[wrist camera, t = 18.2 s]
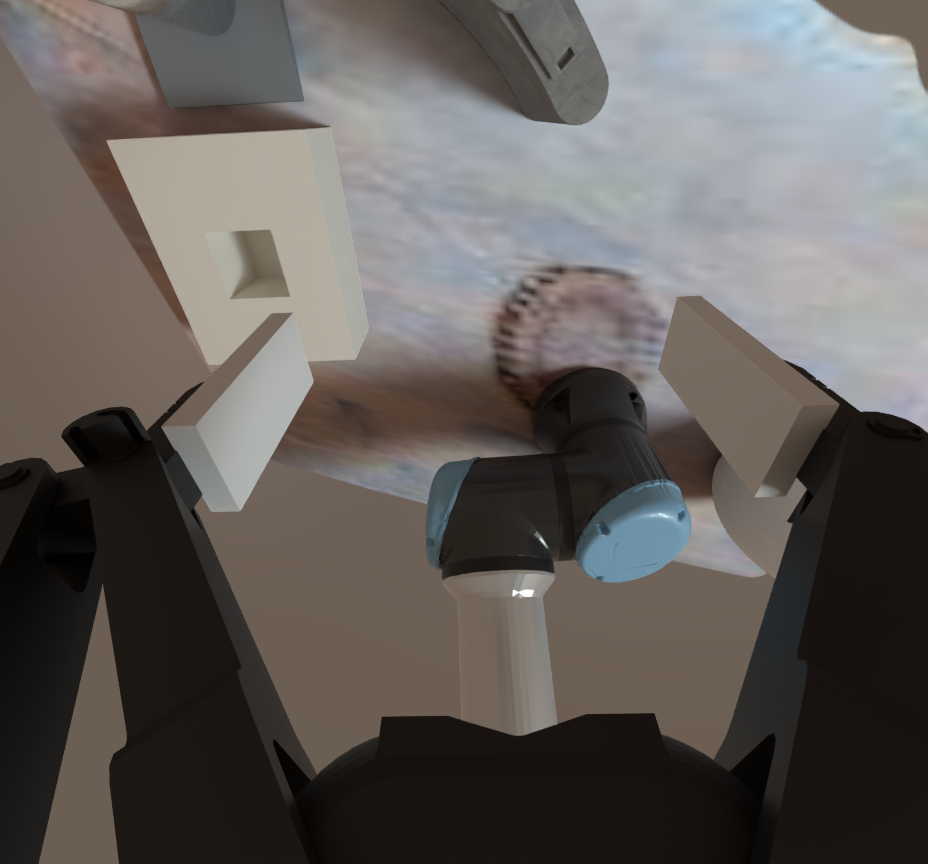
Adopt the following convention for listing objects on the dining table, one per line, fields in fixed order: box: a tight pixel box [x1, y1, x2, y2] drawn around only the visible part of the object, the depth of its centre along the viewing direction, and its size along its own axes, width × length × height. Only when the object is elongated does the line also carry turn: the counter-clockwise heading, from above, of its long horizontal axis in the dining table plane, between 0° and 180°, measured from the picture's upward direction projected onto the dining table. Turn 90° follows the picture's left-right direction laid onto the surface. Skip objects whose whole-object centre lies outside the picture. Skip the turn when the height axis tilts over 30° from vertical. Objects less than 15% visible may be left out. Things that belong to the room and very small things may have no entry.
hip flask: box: [438, 0, 609, 125], centre depth 27 cm, size 16×4×20 cm, turn 48°
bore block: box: [106, 127, 369, 365], centre depth 42 cm, size 20×16×8 cm
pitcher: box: [712, 455, 807, 579], centre depth 53 cm, size 24×17×28 cm
